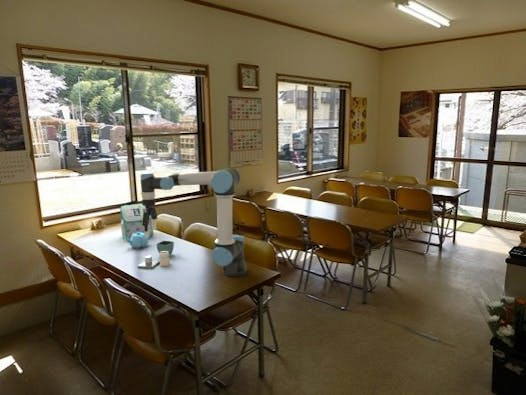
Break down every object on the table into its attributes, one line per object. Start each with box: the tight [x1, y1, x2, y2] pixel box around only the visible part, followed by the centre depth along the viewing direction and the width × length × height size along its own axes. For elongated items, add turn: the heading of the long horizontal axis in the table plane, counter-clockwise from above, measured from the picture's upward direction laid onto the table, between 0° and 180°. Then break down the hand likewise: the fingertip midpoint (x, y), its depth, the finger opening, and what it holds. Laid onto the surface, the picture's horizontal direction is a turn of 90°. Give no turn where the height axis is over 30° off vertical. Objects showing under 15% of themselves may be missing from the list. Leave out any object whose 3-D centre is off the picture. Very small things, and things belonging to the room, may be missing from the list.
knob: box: [158, 251, 171, 267], centre depth 249 cm, size 6×6×8 cm
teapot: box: [124, 230, 151, 250], centre depth 284 cm, size 15×14×11 cm
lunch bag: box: [119, 203, 154, 240], centre depth 306 cm, size 23×16×27 cm
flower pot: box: [156, 240, 175, 256], centre depth 266 cm, size 9×9×9 cm
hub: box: [137, 255, 160, 270], centre depth 247 cm, size 10×10×6 cm
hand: (150, 232), depth 233 cm, fingers open, 13 cm apart
